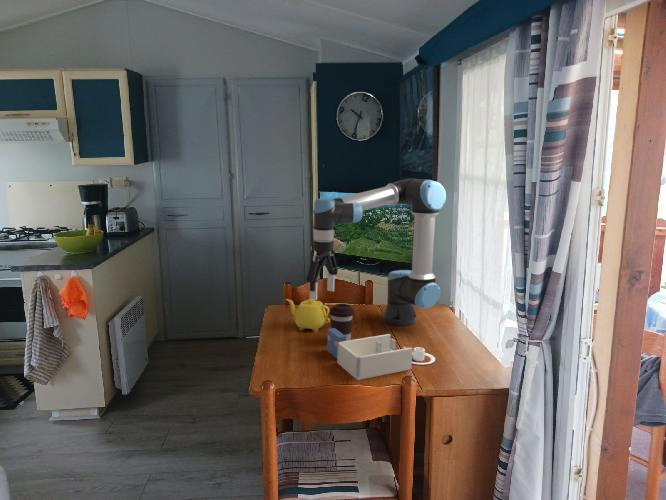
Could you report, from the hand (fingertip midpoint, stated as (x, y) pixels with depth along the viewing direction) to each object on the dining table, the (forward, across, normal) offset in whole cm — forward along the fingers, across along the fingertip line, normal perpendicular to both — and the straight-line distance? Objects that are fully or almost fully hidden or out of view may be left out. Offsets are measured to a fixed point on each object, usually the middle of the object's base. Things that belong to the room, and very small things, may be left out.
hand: (322, 295), depth 210 cm
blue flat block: (+22, +1, +7) cm, 24 cm away
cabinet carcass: (+22, +4, +24) cm, 33 cm away
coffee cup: (+22, -13, +2) cm, 26 cm away
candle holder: (+23, -11, +36) cm, 44 cm away
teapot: (+22, -20, -18) cm, 35 cm away
